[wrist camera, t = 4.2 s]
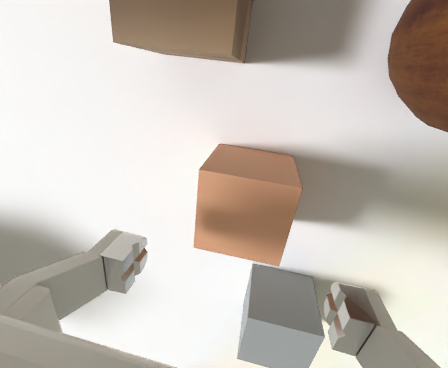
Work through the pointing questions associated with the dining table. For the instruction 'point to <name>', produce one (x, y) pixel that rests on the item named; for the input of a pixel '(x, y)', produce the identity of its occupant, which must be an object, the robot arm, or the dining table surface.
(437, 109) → the wooden figurine
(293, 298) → the slate grey block
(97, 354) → the robot arm
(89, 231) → the dining table surface
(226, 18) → the walnut block
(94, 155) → the dining table surface
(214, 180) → the terracotta block
